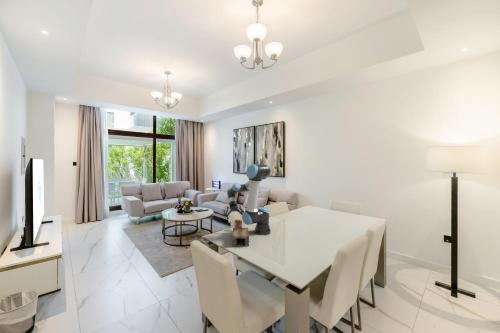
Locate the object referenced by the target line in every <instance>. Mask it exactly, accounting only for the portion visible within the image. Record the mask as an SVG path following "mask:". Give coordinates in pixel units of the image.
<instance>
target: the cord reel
mask: <svg viewBox="0 0 500 333" xmlns="http://www.w3.org/2000/svg"><path fill="white" fill-rule="evenodd" d="M233 222H234V227H233V228H243V221H242V219H234V220H233Z"/></svg>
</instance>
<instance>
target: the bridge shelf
mask: <svg viewBox="0 0 500 333" xmlns="http://www.w3.org/2000/svg"><path fill="white" fill-rule="evenodd" d="M237 239H244V245H245V247H249V246H250V233H249V228H248V227H242V228H234V227H232V247H237Z"/></svg>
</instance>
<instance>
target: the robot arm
mask: <svg viewBox="0 0 500 333" xmlns="http://www.w3.org/2000/svg"><path fill="white" fill-rule="evenodd" d="M271 172H272V170H271V168H270V166H269V165H268V164H256V163H255V164H249V166H248V167H247V168H246V172H245V173H246V177H247V178H248V181H246V183H244V184H240V183H238V182H235V183H234V184H233V185H232V186H231V188H228V189H227V190H226V192H227V200H228V205H229V206H226V211H225V213H224V217H225V218H226V220H228V224H230V223H231V220H230V214H231V213H232V212H237V213H238V214H240V215H241V220H242V223H244V224H245V225H247V226H249V225H254V224H255V227H254V233H255V235H258V236H268V235H270V234H271V227H270V210H269V208H267V207H262V206H258V202H259V201H258V199H259V194H260V193H259V192H260V185H261V184H260V183H261V182H262V181H263V180H266V179H267V178H269V177H270V175H271ZM246 192H248V198H247V206H246V207H245V210H244V209H243V208H242V206H241V205H239V206H238V202H237V198H236V197H237V196H236V195H237V194H238V193H246Z"/></svg>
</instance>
